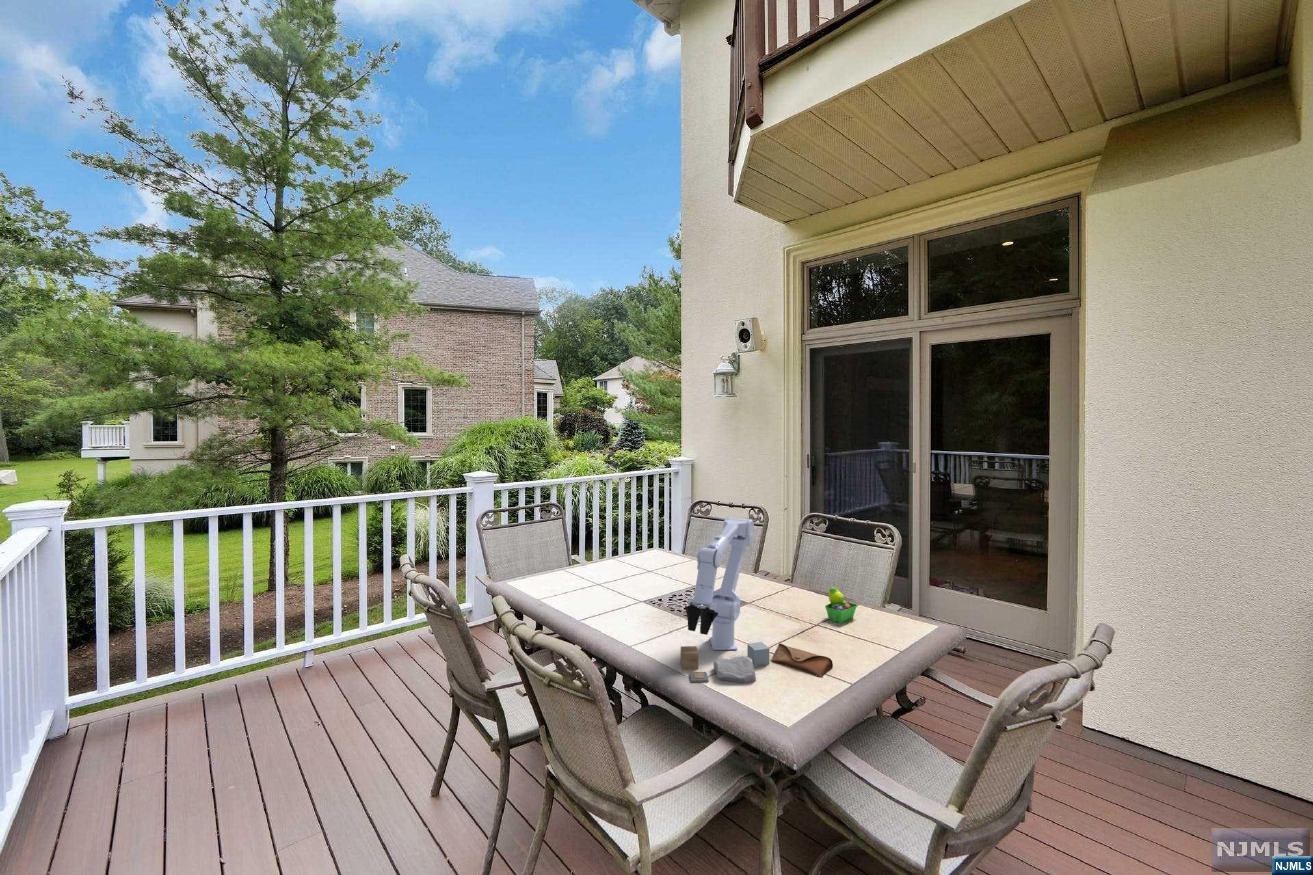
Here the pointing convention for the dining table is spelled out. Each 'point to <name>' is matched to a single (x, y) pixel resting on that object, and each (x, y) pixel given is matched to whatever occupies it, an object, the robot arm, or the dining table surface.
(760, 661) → the blue-grey cube
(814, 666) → the sunglasses case
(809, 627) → the dining table surface
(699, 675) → the tile
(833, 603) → the fruit basket
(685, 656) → the walnut cube
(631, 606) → the dining table surface
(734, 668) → the stone block
